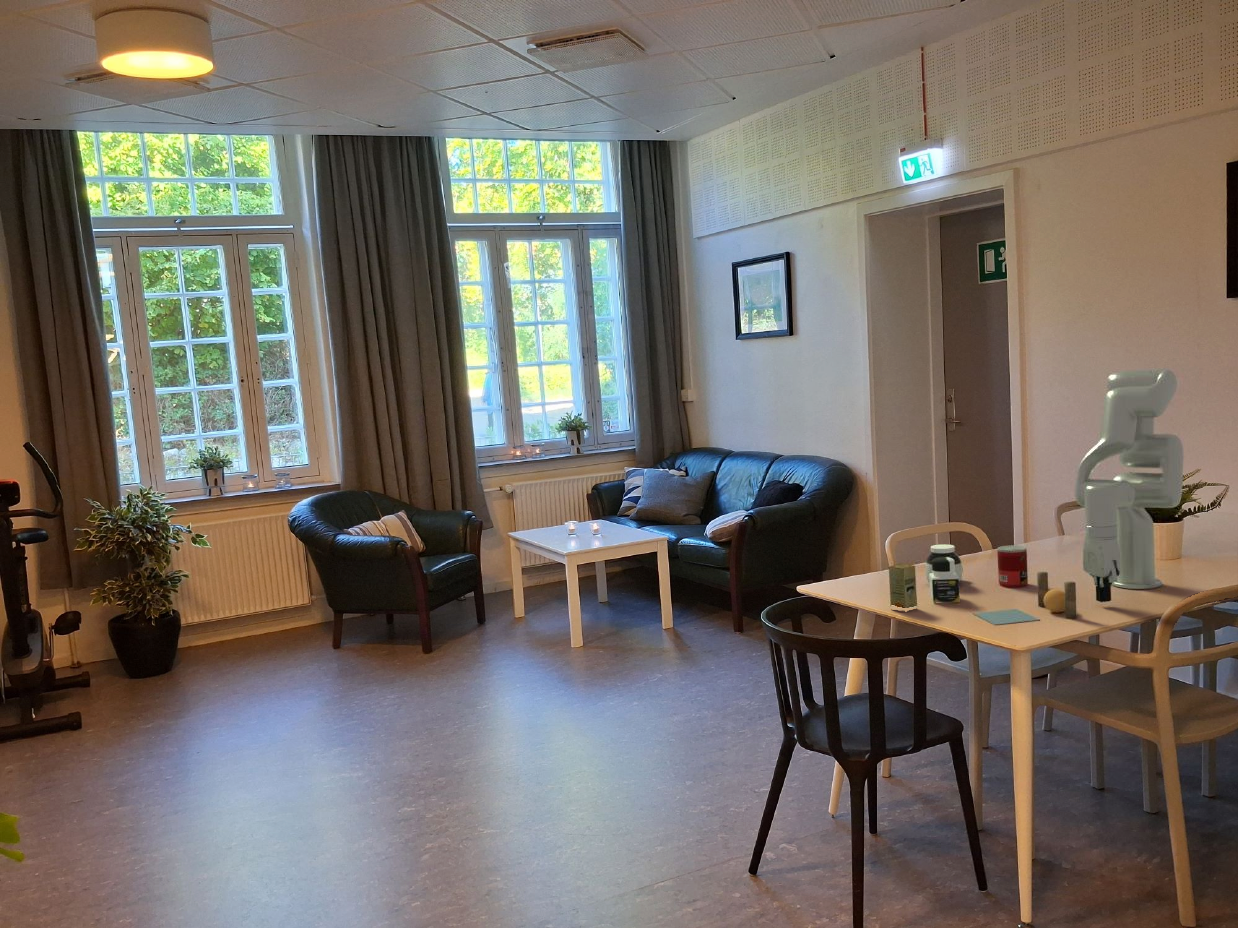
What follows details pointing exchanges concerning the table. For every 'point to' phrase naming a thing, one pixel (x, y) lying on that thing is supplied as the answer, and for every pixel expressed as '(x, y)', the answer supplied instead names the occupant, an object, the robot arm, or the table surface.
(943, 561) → the medicine bottle
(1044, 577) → the post
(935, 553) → the spread jar
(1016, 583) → the canned food
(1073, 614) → the post
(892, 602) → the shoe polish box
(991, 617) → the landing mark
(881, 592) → the table surface
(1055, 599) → the ball
